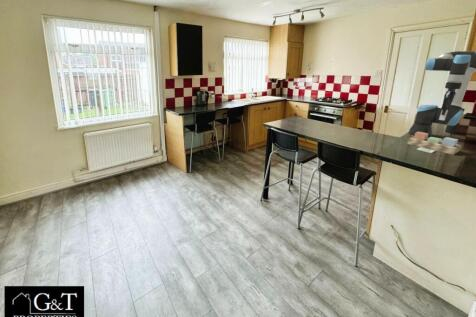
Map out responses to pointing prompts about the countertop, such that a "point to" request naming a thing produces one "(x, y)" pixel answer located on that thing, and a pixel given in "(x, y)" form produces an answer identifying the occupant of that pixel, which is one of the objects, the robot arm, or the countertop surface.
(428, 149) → the card
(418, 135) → the terracotta key
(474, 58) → the robot arm
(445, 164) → the countertop surface
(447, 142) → the slate key
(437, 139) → the sage key
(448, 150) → the key panel
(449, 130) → the travel mug
